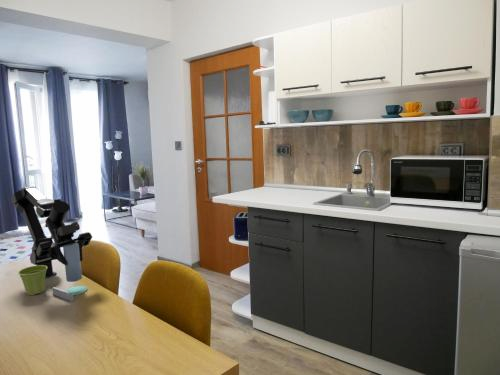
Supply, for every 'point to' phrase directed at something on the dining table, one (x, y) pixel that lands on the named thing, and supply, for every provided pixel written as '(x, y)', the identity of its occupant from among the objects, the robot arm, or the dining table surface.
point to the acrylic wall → (62, 293)
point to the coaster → (77, 290)
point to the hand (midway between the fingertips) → (74, 262)
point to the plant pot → (33, 279)
